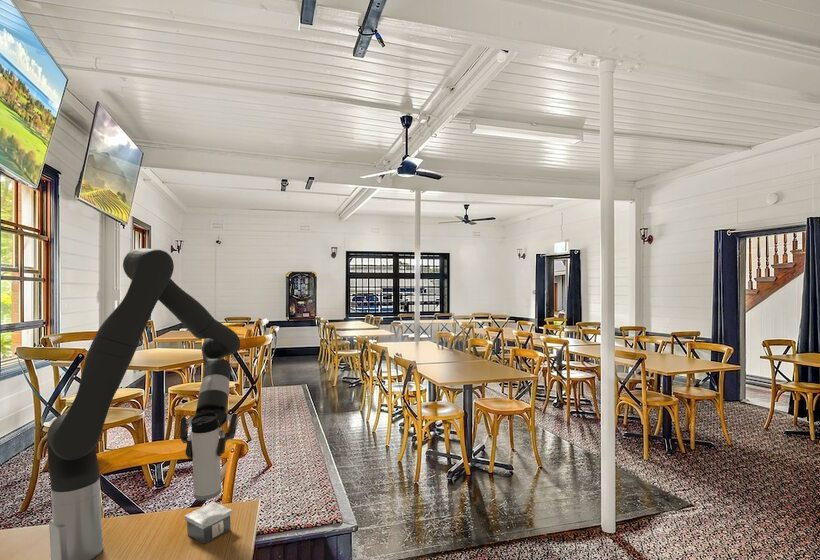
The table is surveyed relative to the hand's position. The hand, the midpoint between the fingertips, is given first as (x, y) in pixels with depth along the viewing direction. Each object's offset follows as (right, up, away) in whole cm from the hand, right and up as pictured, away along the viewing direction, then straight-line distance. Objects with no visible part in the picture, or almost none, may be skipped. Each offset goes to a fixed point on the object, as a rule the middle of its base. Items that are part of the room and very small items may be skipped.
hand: (204, 456), depth 114 cm
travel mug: (0, -10, +2) cm, 11 cm away
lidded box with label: (0, -20, +2) cm, 20 cm away
